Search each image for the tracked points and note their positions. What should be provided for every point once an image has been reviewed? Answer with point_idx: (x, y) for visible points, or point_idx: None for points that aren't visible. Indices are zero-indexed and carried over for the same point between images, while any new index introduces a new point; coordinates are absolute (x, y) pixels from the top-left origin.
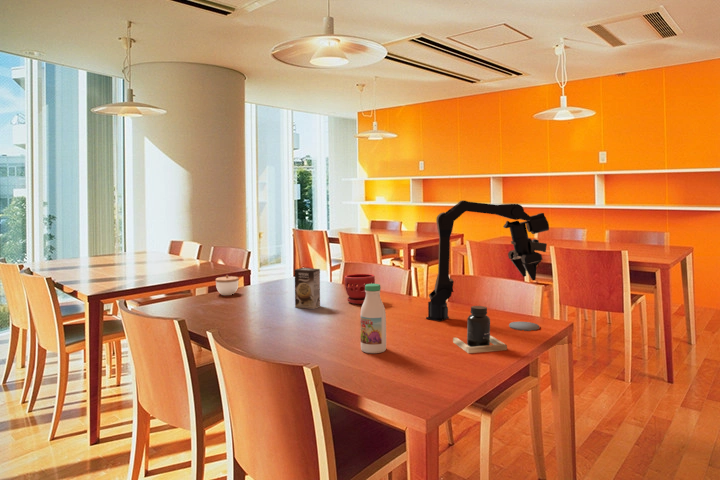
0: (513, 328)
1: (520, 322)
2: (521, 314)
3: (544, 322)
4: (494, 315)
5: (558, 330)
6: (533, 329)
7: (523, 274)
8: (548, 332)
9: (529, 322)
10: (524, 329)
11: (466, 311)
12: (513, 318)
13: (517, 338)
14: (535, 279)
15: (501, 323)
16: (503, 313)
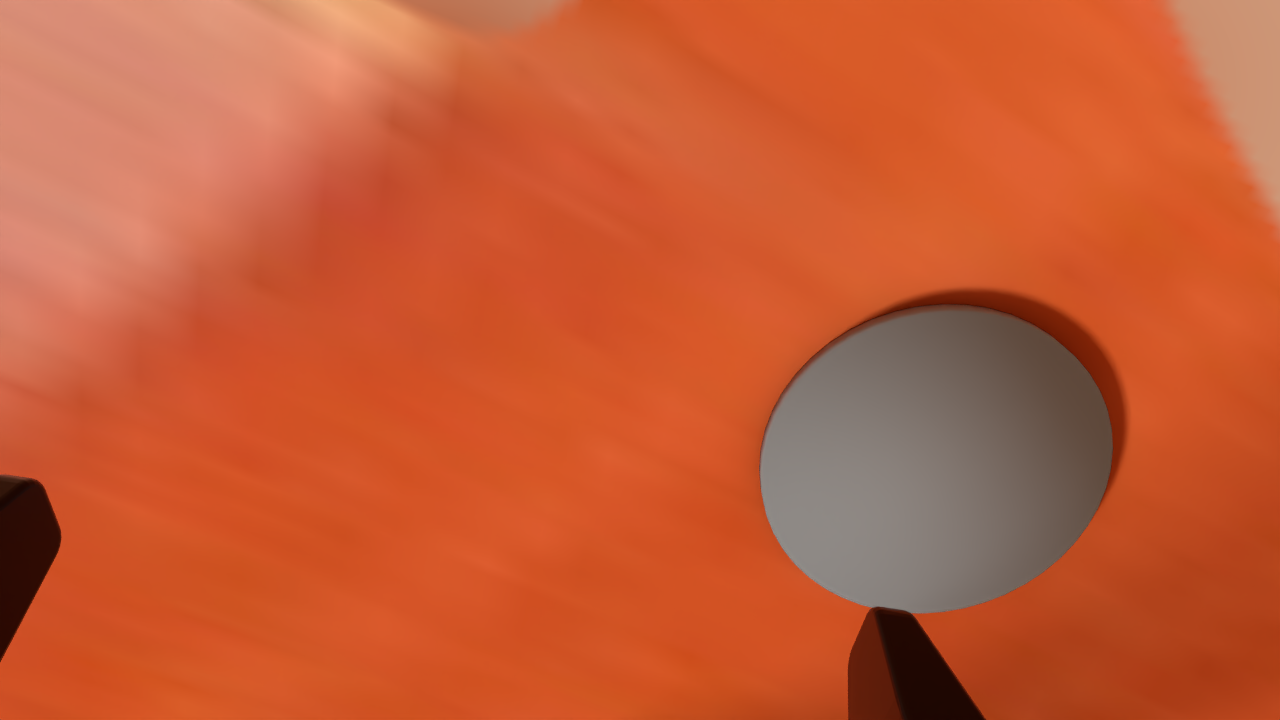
0: (959, 598)
1: (807, 453)
2: (333, 192)
3: (817, 111)
4: (353, 529)
5: (1230, 154)
6: (1107, 448)
7: (8, 590)
8: (1242, 323)
9: (842, 355)
10: (1073, 539)
11: (144, 713)
12: (529, 393)
13: (1263, 701)
14: (908, 612)
15: (714, 607)
16: (260, 392)
